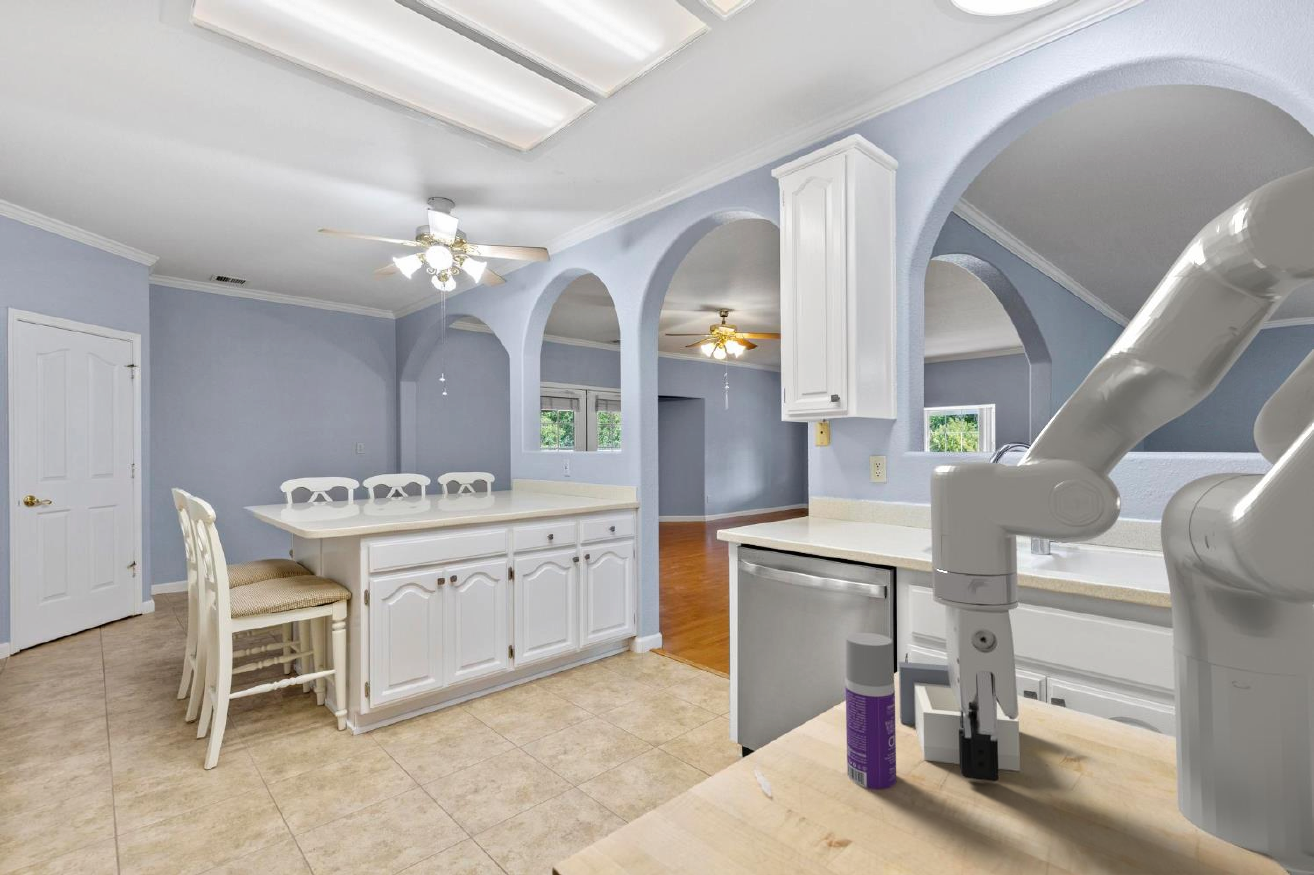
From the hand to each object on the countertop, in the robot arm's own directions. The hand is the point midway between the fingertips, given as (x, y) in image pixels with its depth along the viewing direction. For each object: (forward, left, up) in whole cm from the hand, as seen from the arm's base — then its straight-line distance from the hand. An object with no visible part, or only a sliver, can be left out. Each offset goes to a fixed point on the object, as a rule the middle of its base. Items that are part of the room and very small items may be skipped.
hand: (978, 775), depth 62 cm
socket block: (0, -8, -1) cm, 8 cm away
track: (0, -5, -2) cm, 6 cm away
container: (+10, +1, -2) cm, 10 cm away
